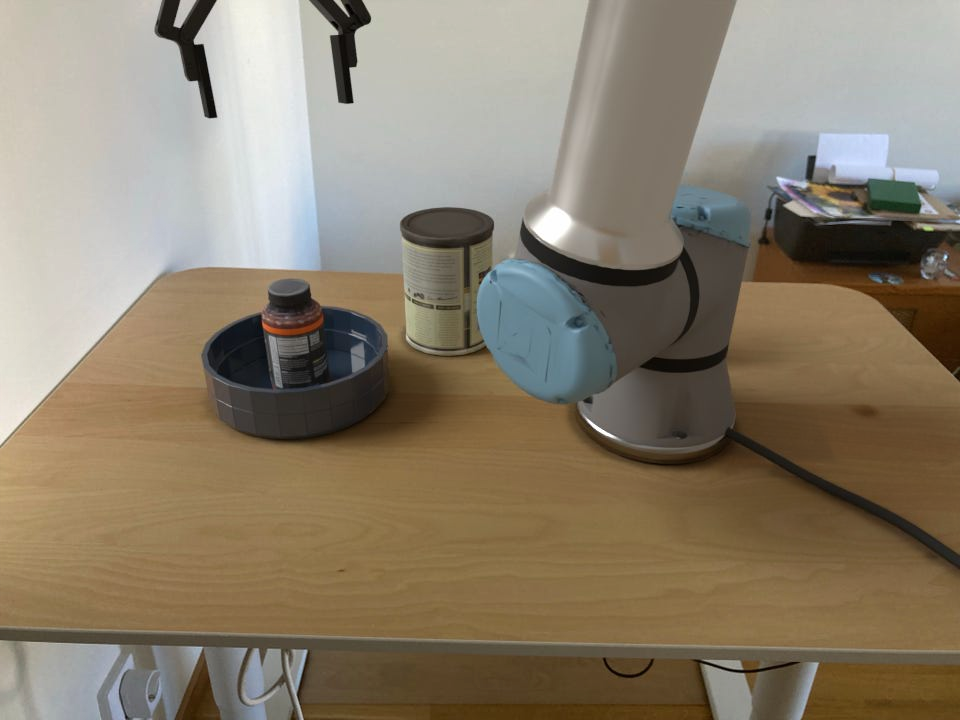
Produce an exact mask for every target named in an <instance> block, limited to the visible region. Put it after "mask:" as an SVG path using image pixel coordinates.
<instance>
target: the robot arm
mask: <svg viewBox="0 0 960 720" xmlns="http://www.w3.org/2000/svg"><path fill="white" fill-rule="evenodd" d="M217 1H218V0H195V2H194V3H193V5H192V6H191V8H190V10H189V12H188V14H187V16H186V17H185V18H184V20H183V22H182V24H181V26H180V27H177V26H175V22H176V19H177V16H178V11H179V8H180V4H181V0H161V2H160V5H159V9H158V13H157V17H156V21H155V25H154V31H153V32H154V34H155V36H157V37H158V38H160V39H165V40H168V41H171V42H173V43H174V44H176V45H177V46H178V49H179V53H180V60H181V65H182V69H183V74H184V77H185V78H186V80H187V82H197V85H198V90H199V96H200V100H201V106H202V111H203V116H204V117H205V118H207V119H208V120H209V119H217V118H218V113H217V108H216V107H217V106H216V101H215V97H214V91H213V86H212V81H211V76H210V69H209V65H208V60H207V55H206V49H205V44H204V43H198V44H195V39H196V37H197V35H198V34H199V32H200V31H201V29H202V27H203V25H204V23H205V21H206V20H207V18H208V17H209V15H210V13H211V12H212V10H213V8H214V7H215V5H216V3H217ZM308 1H309V2H310V3H311V4H312V5H313V7H314V8H315V9H316V10H317V11H318V12H319V13H320V15H322V17H324V18H325V20H327V22H328V23H329V25H331V26H332V27H333V28H334V29H335V30H336V31H337V34H329V41H330V47H331V57H332V63H333V64H332V65H333V72H334V79H335V87H336V95H337V103H338V104H344V105H350V104H354V103H355V101H354V93H353V85H352V78H351V69H350V68H352V69H353V68H357V67H358V62H359V61H358V54H357V53H358V52H357V47H356V46H357V45H356V37H355V36H356V35H355V34H356V32H357V31H358V30H359V29H361V28H362V27H365V26H368V25H370V23H371V22H372V15H371V13H370V12H369V10H368V8H367V6H366V4H365V3H364V1H363V0H339V1H340V2H341V4H342V6H343V8H344V9H342V8H341V6H340V5H339V4H338V3H337V2H336V1H335V0H308ZM737 3H738V0H588V2H587V6H586V7H587V8H586V12H585V16H584V22H583V27H582V32H581V36H580V37H581V38H580V40H579V41H580V42H579V46H578V51H577V56H576V62H575V65H574V66H575V67H574V71H573V76H572V80H571V85H570V91H569V95H568V100H567V105H566V109H565V115H564V120H563V124H562V129H561V134H560V138H559V144H558V149H557V154H556V159H555V163H554V164H555V165H554V169H553V174H552V178H551V183H550V187H549V188H547V189H545V190H543V191H542V192H540V193H538V194H536V195H534V196H533V197H532V198H531V199H530V200H529V201H528V202H526V205H525V208H524V209H523V214H522V219H521V225H520V229H519V234H518V240H517V244H516V250H515V253H514V256H513V257H512V258H508V259H504V260H503V261H501V262H499V263H497V264H496V265H495V266H494V267H493V268H492V270H491V271H490V272H489V273H488V274H487V275H486V276H485V278H484V279H483V281H482V283H481V285H480V288H479V291H478V296H477V317H478V323H479V327H480V330H481V334H482V336H483V339H484V341H485V344H486V346H485V347H486V348H487V349H488V351H489V352H490V353H491V355H492V357H493V361H494V362H495V364H496V365H497V366H498V368H500V370H501V371H502V372H503V374H505V376H506V377H507V378H508V379H509V380H510V381H511V382H512V383H513V384H514V385H515V386H516V387H518V388H519V389H521V390H522V391H523V392H524V393H526V394H528V395H530V396H531V397H532V398H535V399H537V400H540V401H541V402H545V403H547V404H552V405H560V406H561V405H562V406H564V405H572V404H575V408H574V415H575V419H576V422H577V424H578V426H579V427H580V429H581V431H582V432H583V433H584V434H585V435H586V437H588V438H589V439H590V440H592V441H593V442H594V443H595V444H597V445H598V446H600V447H602V448H604V449H606V450H608V451H610V452H612V453H613V454H616V455H618V456H622V457H625V458H627V459H631V460H635V461H640V462H645V463H652V464H661V465H662V464H663V465H675V464H676V465H677V464H679V465H680V464H687V463H689V464H690V463H694V462H698V461H703V460H705V459H709V458H710V457H712V456H715V455H716V454H719V453H720V452H721V451H722V450H723V449H724V448H725V447H726V446H727V445H728V444H729V442H730V441H733V442H734V443H737V444H739V445H740V446H742V447H744V448H746V449H747V450H749V451H751V452H753V453H755V454H756V455H758V456H760V457H762V458H764V459H765V460H767V461H770V462H771V463H773V465H776V466H777V467H780V468H781V469H782V470H784V471H786V472H788V473H789V474H791V475H793V476H795V477H797V478H798V479H800V480H801V481H804V482H806V483H808V484H810V485H812V486H813V487H815V488H818V489H819V490H822V491H823V492H826V493H827V494H830V495H832V496H833V497H836V498H838V499H840V500H842V501H844V502H847V503H849V504H850V505H853V506H855V507H858V508H859V509H861V510H863V511H865V512H867V513H869V514H871V515H873V516H875V517H878V518H879V519H881V520H883V521H885V522H886V523H888V524H890V525H892V526H894V527H896V528H897V529H899V530H901V531H902V532H904V533H906V534H907V535H909V536H911V537H912V538H913V539H915V540H916V541H918V542H919V543H921V544H923V546H925V547H927V549H928V548H929V549H930V550H931V551H932V552H933V553H935V554H937V555H938V556H940V557H941V558H943V559H944V560H945V561H946V562H948V563H950V564H951V565H953V566H954V567H955V568H957V569H959V570H960V554H959V553H957V552H956V551H955V550H953V549H952V548H950V547H949V546H947V545H946V544H944V543H943V542H941V541H940V540H939V539H937V538H936V537H935V536H933V535H931V534H930V533H928V532H927V531H926V530H924V529H922V528H921V527H919V526H917V525H916V524H914V523H913V522H911V521H909V520H908V519H906V518H904V517H902V516H901V515H899V514H897V513H895V512H894V511H891V510H890V509H889V508H886V507H883V506H882V505H880V504H877V503H875V502H873V501H871V500H869V499H868V498H865V497H863V496H861V495H860V494H857V493H854V492H852V491H851V490H848V489H846V488H843V487H842V486H839V485H837V484H835V483H833V482H831V481H829V480H827V479H825V478H823V477H821V476H819V475H817V474H815V473H813V472H811V471H809V470H807V469H805V468H804V467H801V466H800V465H799V464H796V463H795V462H793V461H791V460H789V459H788V458H786V457H784V456H782V455H780V454H779V453H778V452H776V451H773V450H772V449H770V448H769V447H766V446H764V445H763V444H761V443H759V442H757V441H755V440H754V439H752V438H749V436H746V435H744V434H742V433H741V432H739V431H737V430H735V429H734V427H735V422H736V418H737V417H736V416H737V415H736V414H737V413H736V407H735V402H734V396H733V391H732V384H731V380H730V379H731V378H730V373H729V368H728V367H729V366H728V361H727V359H728V358H727V357H728V352H729V347H730V341H731V337H732V331H733V327H734V322H735V317H736V311H737V307H738V303H739V299H740V290H741V288H742V282H743V277H744V273H745V267H746V262H747V258H748V252H749V249H751V247H752V243H751V242H752V241H751V240H750V239H751V230H752V223H753V215H752V212H751V209H750V207H749V206H748V205H747V204H746V203H745V202H743V201H742V200H740V199H738V198H737V197H735V196H734V195H733V196H732V195H730V194H727V193H724V192H721V191H718V190H713V189H709V188H705V187H701V186H695V185H690V184H683V183H681V181H682V179H683V175H684V171H685V169H686V165H687V162H688V160H689V159H688V158H689V155H690V153H691V150H692V146H693V142H694V139H695V136H696V133H697V131H698V126H699V124H700V120H701V117H702V114H703V112H704V111H703V110H704V107H705V105H706V101H707V98H708V94H709V91H710V88H711V85H712V82H713V78H714V76H715V72H716V70H717V66H718V62H719V60H720V56H721V53H722V50H723V47H724V43H725V40H726V37H727V34H728V30H729V27H730V24H731V21H732V18H733V15H734V12H735V8H736V5H737ZM344 10H345V11H346V12H345V11H344Z"/></svg>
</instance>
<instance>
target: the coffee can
mask: <svg viewBox="0 0 960 720" xmlns="http://www.w3.org/2000/svg"><path fill="white" fill-rule="evenodd" d="M494 230H495V221H494V219H493V217H491V216H490V215H488V214H486V213H484V212H482V211H480V210H475V209H471V208H465V207H453V206H452V207H451V206H444V207H432V208H426V209H421V210H417V211H413V212H411V213H408V214H407V215H405V216H403V218H402V219H401V220H400V222H399V231H400V233H401V252H402V272H403V292H404V312H405V313H404V315H405V339H406V341H407V343H408V345H410V346H411V347H412V348H413V349H415V350H417V351H419V352H421V353H424V354H427V355H428V354H429V355H432V356H441V357H442V356H443V357H451V356H463V355H468V354H472V353H475V352H478V351H479V350H481V349H483V348H484V347H487V346H486V344H485V341H484V339H483V336H482V334H481V330H480V327H479V323H478V317H477V296H478V291H479V288H480V285H481V283H482V281H483V279H484V278H485V276H486V275H487V274H488V273H489V272H490V271H491V270H493V238H494V237H493V235H494V234H493V233H494Z"/></svg>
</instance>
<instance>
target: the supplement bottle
mask: <svg viewBox="0 0 960 720" xmlns="http://www.w3.org/2000/svg"><path fill="white" fill-rule="evenodd" d="M267 295H268V297H267V298H268V301H269V302H268V303H267V304H266V305H265V306H264V307H263V308H262V311H261V312H262V315H261V317H262V326H263V332H264V337H265V344H266V352H267V358H268V364H269V371H270V377H271V383H272V387H273V389H294V388H305V387H310V386H315V385H321V384H326V383H329V366H328V356H327V348H326V338H325V328H324V319H323V312H322V308H321V306H322V305H321V304H320V302H318V301H317V300H316V299H314V298H313V297H312V292H311V285H310V283H309V282H308V281H306V280H305V279H302V278H291V277H290V278H289V277H288V278H282V279H281V278H280V279H278V280H276V281H273V282H271V283H270V284H269V285H268V287H267Z"/></svg>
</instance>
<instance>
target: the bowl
mask: <svg viewBox="0 0 960 720" xmlns="http://www.w3.org/2000/svg"><path fill="white" fill-rule="evenodd" d="M320 306H321V308H322V312H323V319H324V328H325V338H326V348H327V356H328V366H329V383H326V384H321V385H315V386H310V387H305V388H294V389H273V387H272V383H271V377H270V371H269V364H268V358H267V352H266V344H265V337H264V332H263V326H262V317H261V315H262V311H261V312H256V313H252V314H249V315H246V316H244V317H241V318H240V319H237V320H235V321H232V322H230V323H228V324H227V325H225V326H224V327H222V328H220V329H219V330H218V331H216V332H214V333H213V334H212V335H211V337H210V338H209V339H208V340H207V341H206V342H205V344H204V346H203V349H202V352H201V354H200V359H201V363H202V369H203V374H204V379H205V383H206V390H207V395H208V400H209V405H210V409H211V411H213V413H214V415H215V416H216V417H217V418H218V419H219V420H220V421H221V422H223V423H225V424H227V425H228V426H229V427H231V428H233V429H234V430H236V431H238V432H241V433H244V434H247V435H250V436H254V437H259V438H263V439H264V438H265V439H272V440H298V439H307V438H314V437H319V436H323V435H327V434H331V433H334V432H338V431H340V430H343V429H346V428H348V427H351V426H353V425H355V424H356V423H358V422H361V421H362V420H363V419H366V417H368V416H369V415H370V414H372V413H373V412H374V411H375V410H376V409H377V408H378V407H379V405H380V404H381V403H382V402H383V401H384V400H385V399H386V397H387V394H388V392H389V390H390V388H391V374H390V357H389V339H388V336H389V335H388V334H387V332H386V330H385V328H384V327H383V326H382V325H381V324H380V323H379V322H378V321H376V320H375V319H374V318H372V317H371V316H369V315H367V314H363V313H361V312H359V311H356V310H353V309H348V308H345V307H344V308H343V307H338V306H330V305H320Z"/></svg>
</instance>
